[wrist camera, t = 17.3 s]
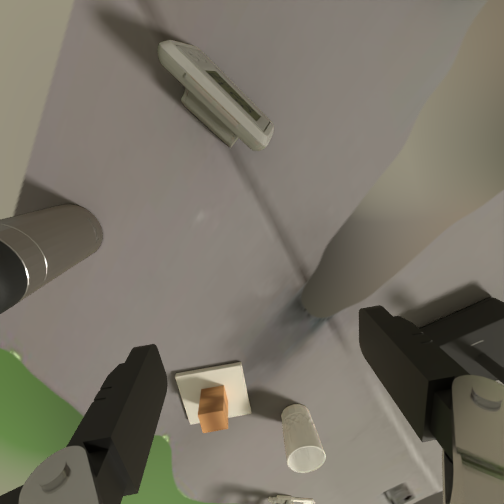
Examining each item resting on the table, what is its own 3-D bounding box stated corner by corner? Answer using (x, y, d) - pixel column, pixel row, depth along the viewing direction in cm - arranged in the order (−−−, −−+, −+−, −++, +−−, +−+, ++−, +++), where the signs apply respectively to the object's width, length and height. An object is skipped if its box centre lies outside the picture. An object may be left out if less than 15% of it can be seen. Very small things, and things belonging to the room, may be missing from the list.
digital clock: (278, 134, 41) (293, 125, 31) (233, 170, 42) (234, 173, 32) (211, 33, 36) (204, -16, 26) (163, 77, 38) (139, 46, 27)
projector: (424, 383, 61) (509, 480, 43) (406, 332, 56) (494, 417, 37) (502, 349, 60) (626, 435, 41) (491, 293, 54) (629, 363, 36)
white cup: (294, 396, 59) (306, 440, 50) (318, 411, 62) (333, 456, 52) (271, 416, 61) (279, 463, 52) (295, 430, 63) (306, 478, 54)
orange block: (205, 406, 57) (203, 433, 51) (201, 389, 55) (197, 415, 50) (228, 402, 57) (227, 428, 52) (224, 385, 56) (223, 410, 50)
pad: (191, 420, 59) (190, 424, 59) (175, 373, 55) (174, 377, 54) (250, 409, 60) (251, 413, 59) (241, 361, 55) (241, 365, 54)
